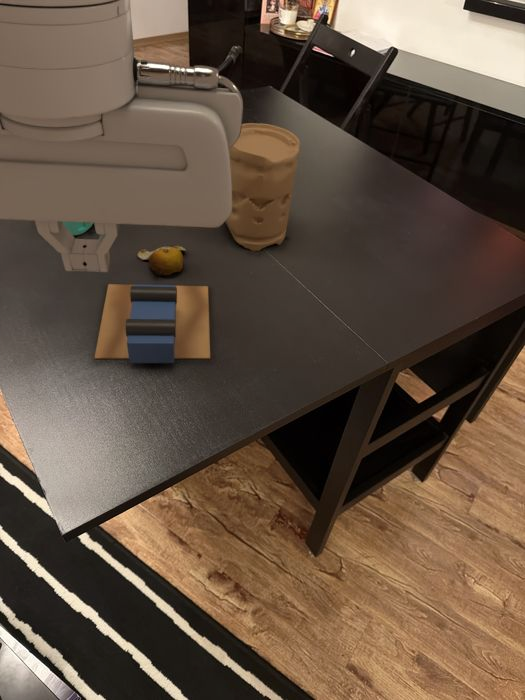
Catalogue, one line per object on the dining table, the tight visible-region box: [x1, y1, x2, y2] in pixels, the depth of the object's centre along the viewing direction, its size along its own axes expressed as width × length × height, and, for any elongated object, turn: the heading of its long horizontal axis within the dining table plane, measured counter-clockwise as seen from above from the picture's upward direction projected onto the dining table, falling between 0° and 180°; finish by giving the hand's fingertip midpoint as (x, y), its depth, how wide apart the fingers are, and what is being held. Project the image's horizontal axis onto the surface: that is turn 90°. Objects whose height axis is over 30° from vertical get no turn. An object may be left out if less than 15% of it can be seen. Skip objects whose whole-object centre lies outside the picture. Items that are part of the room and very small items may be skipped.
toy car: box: [126, 283, 177, 364], centre depth 68 cm, size 6×6×12 cm
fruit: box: [136, 245, 187, 277], centre depth 81 cm, size 8×8×4 cm
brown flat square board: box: [94, 283, 211, 360], centre depth 73 cm, size 16×16×1 cm
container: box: [224, 122, 301, 252], centre depth 86 cm, size 13×13×18 cm
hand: (88, 266), depth 35 cm, fingers closed
